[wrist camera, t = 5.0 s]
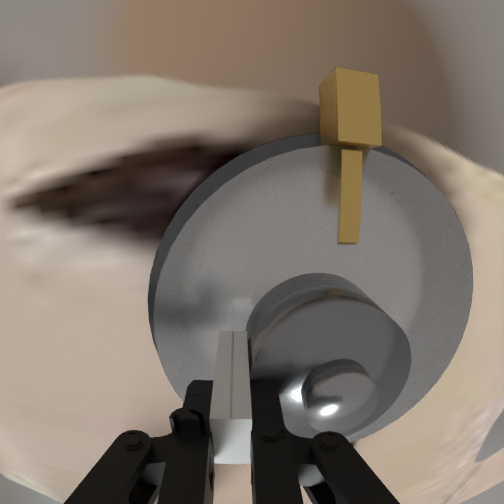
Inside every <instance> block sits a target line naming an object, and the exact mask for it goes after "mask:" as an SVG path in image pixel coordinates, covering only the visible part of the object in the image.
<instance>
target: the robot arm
mask: <svg viewBox="0 0 504 504" xmlns="http://www.w3.org/2000/svg"><path fill="white" fill-rule="evenodd" d="M169 419H170V424H171V428H172V433H170V434H168V435H166V436H161V437H154V438H150V437H149V436H148V435H147V434H146V433H144V432H142V431H138V430H130V431H126V432H123V433H122V434H120V435H119V436H118V437H117V438H116V440H115V441H114V442H113V443H112V445H111V446H110V447H109V448H108V450H107V451H106V452H105V453H104V455H103V456H102V457H101V458H100V459H99V461H98V462H97V463H96V464H95V466H94V467H93V468H92V469H91V471H90V472H89V473H88V474H87V476H86V477H85V478H84V479H83V480H82V482H81V483H80V484H79V485H78V487H77V488H76V489H75V490H74V492H73V493H72V494H71V495H70V496H69V498H68V499H67V500H66V501H65V503H64V504H154V502H155V501H156V499H157V497H158V495H159V497H158V502H157V504H213V495H214V478H215V473H214V463H215V464H251V484H252V500H253V504H303V499H302V494H301V489H300V485H301V486H303V488H304V490H305V491H306V493H307V495H308V497H309V498H310V500H311V502H312V504H400V503H399V502H398V501H397V499H396V498H395V497H394V496H393V495H392V494H391V492H390V491H389V490H388V489H387V488H386V486H385V485H384V484H383V483H382V482H381V480H380V479H379V478H378V477H377V476H376V474H375V473H374V472H373V471H372V469H371V468H370V467H369V466H368V465H367V463H366V462H365V461H364V460H363V458H362V457H361V456H360V455H359V453H358V452H357V451H356V450H355V448H354V447H353V446H352V445H351V443H350V442H349V441H348V440H347V438H346V437H344V436H343V435H342V434H340V433H337V432H333V431H325V432H321V433H319V434H317V435H315V436H314V437H313V439H312V438H305V437H300V436H296V435H294V434H292V433H291V432H289V431H288V430H287V428H286V427H285V424H284V419H283V414H282V408H281V403H280V398H279V392H278V387H277V385H276V384H275V383H274V382H273V381H272V380H271V379H268V380H250V377H249V361H248V344H247V331H219V339H218V347H217V356H216V364H215V373H214V380H193V381H192V382H191V383H190V384H189V385H188V386H187V390H186V395H185V399H184V403H183V408H179V409H177V410H175V411H174V412H172V414H171V415H170V417H169Z"/></svg>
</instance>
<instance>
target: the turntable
mask: <svg viewBox="0 0 504 504" xmlns="http://www.w3.org/2000/svg"><path fill="white" fill-rule="evenodd" d="M319 93H320V146H317V147H310V148H303V149H298V150H294V151H291V152H287V153H284V154H280V155H277V156H274V157H271V158H269V159H267V160H265V161H263V162H260V163H258V164H256V165H254V166H252V167H250V168H248V169H246V170H245V171H243V172H242V173H240V174H238V175H237V176H235V177H234V178H232V179H231V180H229V181H228V182H226V183H225V184H224V185H222V186H221V187H220V188H219V189H218V190H217V191H216V192H214V193H213V194H212V195H211V196H210V197H209V198H208V199H207V200H205V201H204V202H203V203H202V205H201V206H200V207H199V208H198V209H197V210H196V212H195V213H194V214H193V215H192V216H191V218H190V219H189V220H188V221H187V222H186V224H185V225H184V227H183V228H182V230H181V232H180V233H179V235H178V236H177V238H176V240H175V241H174V243H173V245H172V246H171V249H170V251H169V253H168V255H167V258H166V260H165V263H164V265H163V267H162V270H161V274H160V277H159V281H158V285H157V289H156V293H155V303H154V314H153V318H154V335H155V341H156V346H157V350H158V355H159V358H160V361H161V364H162V366H163V369H164V371H165V374H166V376H167V378H168V380H169V381H170V383H171V385H172V386H173V388H174V390H175V392H176V393H177V394H178V396H179V397H180V398H181V399H182V401H183V402H184V399H185V395H186V390H187V386H188V385H189V384H190V383H191V382H192V381H193V380H214V373H215V364H216V356H217V347H218V339H219V331H245V329H246V324H247V321H248V319H249V316H250V314H251V312H252V310H253V309H254V307H255V306H256V304H257V303H258V302H259V300H260V299H261V298H262V297H263V296H264V295H265V294H266V293H267V292H269V291H270V290H271V289H272V288H274V287H275V286H277V285H278V284H280V283H282V282H284V281H286V280H288V279H290V278H293V277H296V276H299V275H304V274H309V273H328V274H333V275H337V276H340V277H343V278H345V279H347V280H349V281H351V282H352V283H353V284H355V285H356V286H357V287H358V288H360V289H361V290H362V291H363V292H364V293H365V294H366V295H367V296H368V297H369V298H370V299H372V300H373V301H374V302H375V303H376V304H377V305H378V306H379V307H380V308H381V309H382V310H383V311H384V312H386V313H387V314H388V315H389V316H390V317H391V318H392V319H393V320H394V321H395V322H396V323H397V324H398V325H399V326H400V327H401V328H402V330H403V331H404V333H405V334H406V336H407V338H408V341H409V344H410V348H411V368H410V372H409V376H408V379H407V381H406V384H405V386H404V388H403V390H402V392H401V393H400V395H399V396H398V398H397V399H396V401H395V402H394V403H393V404H392V406H391V407H390V408H389V409H388V410H387V411H386V412H385V413H384V414H383V415H382V416H380V417H379V418H378V419H377V420H376V421H374V422H373V423H371V424H370V425H368V426H367V427H365V428H363V429H362V430H360V431H358V432H356V433H354V434H351V435H349V436H346V438H347V440H348V441H349V442H350V443H351V442H354V441H356V440H359V439H361V438H364V437H366V436H368V435H371V434H373V433H375V432H377V431H378V430H380V429H382V428H384V427H386V426H387V425H389V424H390V423H392V422H394V421H395V420H397V419H398V418H400V417H401V416H402V415H403V414H405V413H406V412H407V411H409V410H410V409H411V408H412V407H413V406H414V405H416V404H417V403H418V402H419V401H420V400H421V399H422V398H423V397H424V396H425V395H426V394H427V393H428V392H429V390H430V389H431V388H432V387H433V386H434V385H435V384H436V382H437V381H438V380H439V378H440V377H441V375H442V374H443V373H444V371H445V370H446V368H447V367H448V365H449V363H450V361H451V360H452V358H453V356H454V354H455V353H456V350H457V348H458V346H459V344H460V341H461V339H462V337H463V334H464V331H465V328H466V325H467V321H468V317H469V313H470V308H471V302H472V292H473V268H472V260H471V254H470V248H469V245H468V241H467V238H466V235H465V232H464V229H463V227H462V225H461V223H460V220H459V218H458V216H457V214H456V212H455V211H454V209H453V208H452V206H451V205H450V203H449V202H448V200H447V199H446V197H445V196H444V195H443V194H442V193H441V192H440V190H439V189H438V188H437V187H436V186H435V185H434V184H433V183H432V182H431V181H430V180H429V179H427V178H426V177H425V176H424V175H422V174H421V173H420V172H419V171H417V170H416V169H415V168H413V167H411V166H409V165H408V164H406V163H404V162H402V161H400V160H399V159H397V158H394V157H392V156H389V155H386V154H383V153H381V152H378V151H375V150H370V148H374V147H379V146H382V127H381V105H380V91H379V79H378V75H377V74H372V73H367V72H362V71H356V70H351V69H345V68H338V67H336V68H335V69H334V70H333V71H332V72H331V73H330V74H329V76H328V77H327V78H326V79H325V80H324V81H323V82H322V84H321V85H320V86H319Z"/></svg>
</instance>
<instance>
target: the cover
mask: <svg viewBox="0 0 504 504" xmlns="http://www.w3.org/2000/svg"><path fill="white" fill-rule="evenodd" d="M245 331H247V344H248V361H249V377H250V380H268V379H271V380H272V381H273V382H274V383H275V384H276V385H277V387H278V392H279V398H280V403H281V408H282V414H283V419H284V424H285V427H286V428H287V430H288V431H289V432H291V433H292V434H294V435H296V436H300V437H305V438H312V439H313V437H314V436H315V435H317V434H319V433H321V432H325V431H333V432H337V433H340V434H342V435H343V436H344V437H346V436H349V435H351V434H354V433H356V432H358V431H360V430H362V429H363V428H365V427H367V426H368V425H370V424H371V423H373V422H374V421H376V420H377V419H378V418H379V417H380V416H382V415H383V414H384V413H385V412H386V411H387V410H388V409H389V408H390V407H391V406H392V404H393V403H394V402H395V401H396V399H397V398H398V396H399V395H400V393H401V392H402V390H403V388H404V386H405V384H406V381H407V379H408V376H409V372H410V368H411V348H410V344H409V341H408V338H407V336H406V334H405V333H404V331H403V330H402V328H401V327H400V326H399V325H398V324H397V323H396V322H395V321H394V320H393V319H392V318H391V317H390V316H389V315H388V314H387V313H386V312H384V311H383V310H382V309H381V308H380V307H379V306H378V305H377V304H376V303H375V302H374V301H373V300H372V299H370V298H369V297H368V296H367V295H366V294H365V293H364V292H363V291H362V290H361V289H360V288H358V287H357V286H356V285H355V284H353V283H352V282H351V281H349V280H347V279H345V278H343V277H340V276H337V275H333V274H328V273H309V274H304V275H299V276H296V277H293V278H290V279H288V280H286V281H284V282H282V283H280V284H278V285H277V286H275V287H274V288H272V289H271V290H270V291H269V292H267V293H266V294H265V295H264V296H263V297H262V298H261V299H260V300H259V302H258V303H257V304H256V306H255V307H254V309H253V310H252V312H251V314H250V316H249V319H248V321H247V324H246V329H245Z"/></svg>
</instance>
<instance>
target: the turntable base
mask: <svg viewBox="0 0 504 504" xmlns="http://www.w3.org/2000/svg"><path fill="white" fill-rule="evenodd" d="M317 146H320V134H309V135H301V136H293V137H287V138H284V139H280V140H277V141H273V142H270V143H266V144H263V145H261V146H259V147H256V148H254V149H252V150H250V151H248V152H246V153H243V154H241V155H239V156H238V157H236V158H234V159H233V160H231V161H230V162H228V163H227V164H225V165H224V166H222V167H221V168H219V169H218V170H216V171H215V172H214V173H213V174H212V175H210V176H209V177H208V178H207V179H206V180H205V181H204V182H202V183H201V184H200V185H199V186H198V187H197V188H196V189H195V190H194V191H193V193H192V194H191V195H190V196H189V197H188V198H187V200H186V201H185V202H184V203H183V204H182V206H181V207H180V208H179V210H178V211H177V213H176V214H175V216H174V218H173V219H172V221H171V222H170V224H169V226H168V227H167V229H166V231H165V233H164V235H163V238H162V240H161V242H160V245H159V247H158V249H157V252H156V255H155V259H154V263H153V267H152V270H151V274H150V282H149V292H148V312H149V323H150V328H151V333H152V337H153V341H154V344H155V347H156V350H157V346H156V341H155V335H154V318H153V314H154V303H155V293H156V289H157V285H158V281H159V277H160V274H161V270H162V267H163V265H164V263H165V260H166V258H167V255H168V253H169V251H170V249H171V246H172V245H173V243H174V241H175V240H176V238H177V236H178V235H179V233H180V232H181V230H182V228H183V227H184V225H185V224H186V222H187V221H188V220H189V219H190V218H191V216H192V215H193V214H194V213H195V212H196V210H197V209H198V208H199V207H200V206H201V205H202V203H203V202H204V201H205V200H207V199H208V198H209V197H210V196H211V195H212V194H213V193H214V192H216V191H217V190H218V189H219V188H220V187H221V186H222V185H224V184H225V183H226V182H228V181H229V180H231V179H232V178H234V177H235V176H237V175H238V174H240V173H242V172H243V171H245V170H246V169H248V168H250V167H252V166H254V165H256V164H258V163H260V162H263V161H265V160H267V159H269V158H271V157H274V156H277V155H280V154H284V153H287V152H291V151H294V150H298V149H303V148H310V147H317ZM370 150H375V151H378V152H381V153H383V154H386V155H389V156H392V157H394V158H397V159H399V160H400V161H402V162H404V163H406V164H408V165H409V166H411V167H413V168H415V169H416V170H417V171H419V172H420V173H421V174H422V175H424V174H423V173H422V172H421V171H420V170H419V169H417V168H416V167H415V166H414V165H412V164H411V163H410V162H408V161H407V160H406V159H404V158H403V157H402V156H400V155H398V154H396V153H394V152H393V151H391V150H389V149H387V148H385V147H383V146H379V147H374V148H370ZM424 176H425V175H424ZM425 177H426V176H425ZM426 178H427V177H426ZM157 352H158V350H157Z"/></svg>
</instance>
